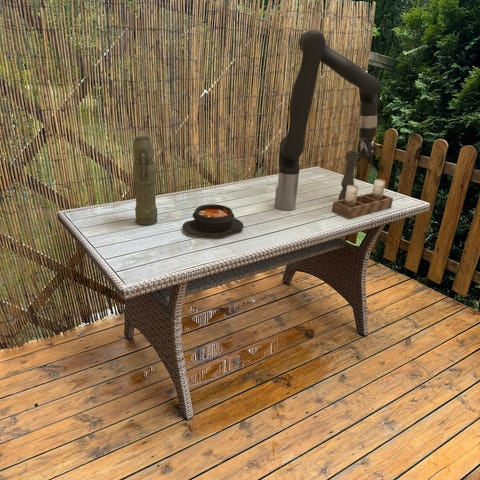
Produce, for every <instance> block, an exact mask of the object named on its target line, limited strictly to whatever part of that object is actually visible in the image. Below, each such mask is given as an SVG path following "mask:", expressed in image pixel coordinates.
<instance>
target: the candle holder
mask: <svg viewBox="0 0 480 480" xmlns="http://www.w3.org/2000/svg"><path fill="white" fill-rule="evenodd" d="M359 154H360V152H359V151H357V150H347V151H346V153H345V160H346V162H345V164H344V165H345V172H344V175H343V176H342V180H341V183H340V184H341V185H340V186H341V191H340V192H339V195H338V200H343V199H345V196H346V190H347V186H348V185H355V179H354V177H355V176H354V172H355V168H356V167H357V164H356V163H357V161H358V159H359Z"/></svg>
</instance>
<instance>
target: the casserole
mask: <svg viewBox="0 0 480 480" xmlns="http://www.w3.org/2000/svg"><path fill="white" fill-rule="evenodd" d="M192 218H193V219H192V220H187V221H184V223H183V224H182V229H183V230H184V231H185V232H186V233H189V234H194V235H206V236H223V235H227V234H230V233H232V232H235V231H239V230H242V229H244V223H243V222H242V221H241V220H239V219H237V218H235V214H234V212H233V210H232V209H231V207H229V206H226V205H222V204H214V203H213V204H212V203H211V204H203V205H200V206H197V207H196V208H195V210H194V211H193V213H192Z"/></svg>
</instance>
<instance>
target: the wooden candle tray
mask: <svg viewBox="0 0 480 480" xmlns="http://www.w3.org/2000/svg"><path fill="white" fill-rule="evenodd" d="M386 182H387V181H386V180H384V179H380V178H377V179H374V182H373V186H372V192H369V193H365V194H361V195H358V191H359V186H357V185H355V184H354V185H348V186H347V190H346V196H345V199H343V200H339V199H337V200H335V201H333V202H332V208H331V212H332V213H334V214H336V215H338V216H341V217H342V218H344V219H347V220H352V219H355V218H359V217H362V216H367V215H371V214H374V213H377V212H381V211H385V210H389V209H391V208H392V205H393V201H394V198H393V197H391V196H388V195H386V194H384V191H385V187H386V186H385V185H386Z"/></svg>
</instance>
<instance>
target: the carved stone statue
mask: <svg viewBox="0 0 480 480" xmlns="http://www.w3.org/2000/svg"><path fill="white" fill-rule="evenodd" d="M132 156H133V157H132V158H133V159H134V160H133V166H132V180H133V183H134V189H135V190H134V191H135V193H134V194H135V208H134V211H135V219H136V220H135V222H136V224H137V225H139V226H142V227H145V226H146V227H148V226H154V225H156V224H157V223H158V208H157V202H156V201H157V200H156V182H157V180H156V179H157V177H156V176H157V175H156V172H157V171H156V166H155V163H154V146H153V143H152V140H151V138H150V137H147V136H137V137H135V138H134V140H133V143H132Z"/></svg>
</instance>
